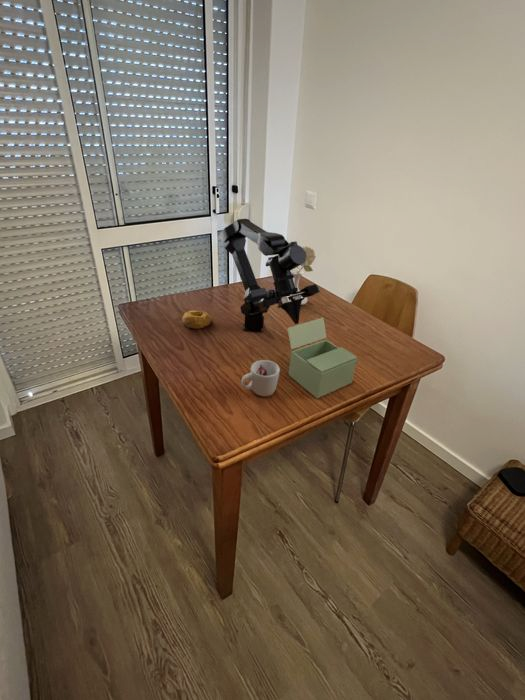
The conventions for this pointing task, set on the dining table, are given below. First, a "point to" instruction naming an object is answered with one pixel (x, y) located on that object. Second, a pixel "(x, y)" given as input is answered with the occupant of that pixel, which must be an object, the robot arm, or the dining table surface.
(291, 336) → the flap
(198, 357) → the dining table surface
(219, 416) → the dining table surface
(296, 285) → the flower in vase
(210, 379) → the dining table surface
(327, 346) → the carton
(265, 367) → the cup
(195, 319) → the bagel
